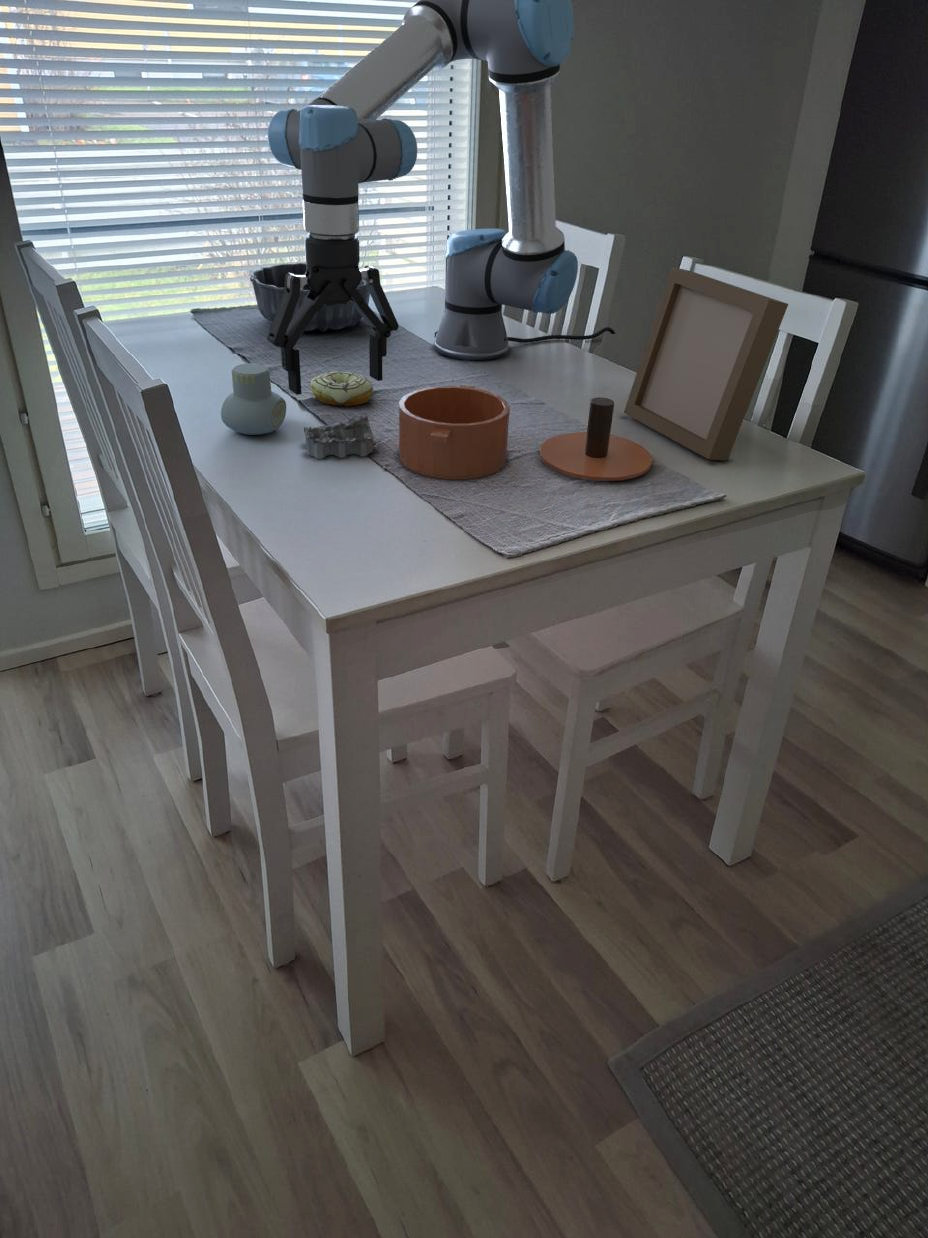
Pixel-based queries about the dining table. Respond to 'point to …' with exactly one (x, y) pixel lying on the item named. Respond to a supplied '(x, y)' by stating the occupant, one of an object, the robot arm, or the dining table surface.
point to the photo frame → (703, 361)
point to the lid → (596, 449)
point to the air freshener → (253, 402)
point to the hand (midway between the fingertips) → (336, 384)
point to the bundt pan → (301, 298)
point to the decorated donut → (341, 388)
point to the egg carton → (340, 439)
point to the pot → (453, 432)
